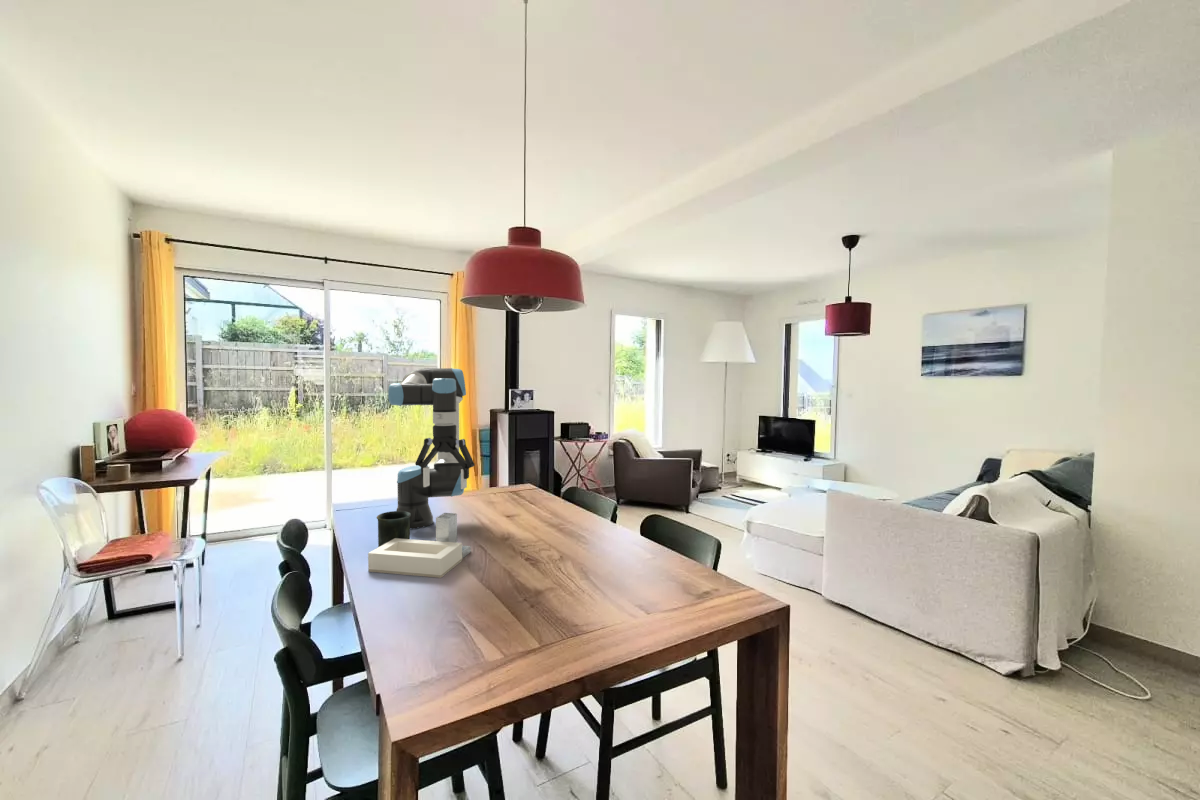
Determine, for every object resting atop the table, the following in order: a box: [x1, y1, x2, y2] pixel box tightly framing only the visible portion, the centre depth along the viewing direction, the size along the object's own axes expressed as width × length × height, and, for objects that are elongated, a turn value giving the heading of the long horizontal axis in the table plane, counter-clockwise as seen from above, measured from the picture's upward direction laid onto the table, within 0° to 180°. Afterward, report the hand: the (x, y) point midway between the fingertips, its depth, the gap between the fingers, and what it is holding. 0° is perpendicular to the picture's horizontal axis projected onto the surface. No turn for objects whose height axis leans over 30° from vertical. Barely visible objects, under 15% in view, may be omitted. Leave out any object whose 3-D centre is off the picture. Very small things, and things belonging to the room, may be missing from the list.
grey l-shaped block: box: [435, 512, 472, 559], centre depth 165 cm, size 6×10×13 cm, turn 80°
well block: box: [367, 538, 463, 579], centre depth 155 cm, size 14×24×6 cm, turn 80°
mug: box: [376, 510, 411, 548], centre depth 170 cm, size 11×15×12 cm
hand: (445, 487), depth 164 cm, fingers open, 13 cm apart
